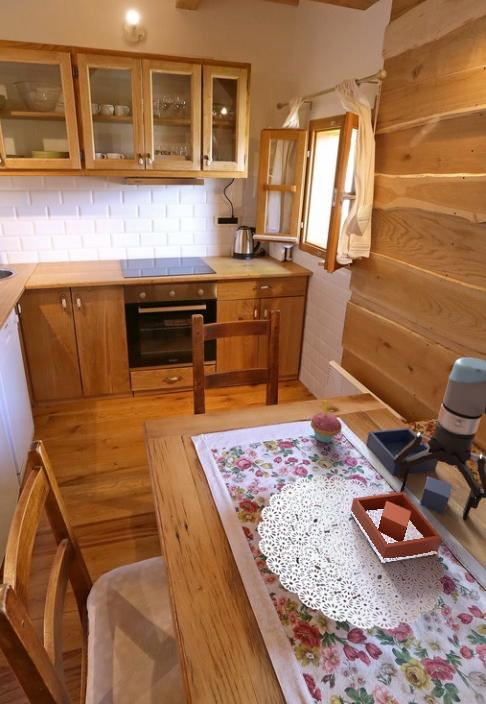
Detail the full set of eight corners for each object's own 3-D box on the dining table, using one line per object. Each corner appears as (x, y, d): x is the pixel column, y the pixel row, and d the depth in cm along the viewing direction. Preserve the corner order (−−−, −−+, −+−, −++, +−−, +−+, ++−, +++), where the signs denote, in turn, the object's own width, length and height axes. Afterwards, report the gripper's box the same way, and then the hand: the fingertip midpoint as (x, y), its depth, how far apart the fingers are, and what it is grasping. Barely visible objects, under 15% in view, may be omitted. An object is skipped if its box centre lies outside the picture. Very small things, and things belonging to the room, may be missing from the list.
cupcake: (303, 430, 120) (308, 395, 115) (328, 426, 122) (334, 392, 118) (318, 449, 112) (324, 412, 108) (345, 444, 114) (352, 408, 110)
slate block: (445, 501, 96) (451, 484, 94) (443, 515, 92) (449, 498, 90) (422, 492, 99) (427, 475, 97) (419, 505, 95) (424, 488, 93)
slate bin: (435, 471, 106) (439, 457, 104) (392, 476, 103) (395, 461, 102) (405, 440, 118) (408, 427, 116) (365, 444, 115) (368, 431, 113)
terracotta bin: (437, 554, 82) (442, 538, 81) (381, 564, 80) (386, 547, 78) (399, 506, 94) (403, 491, 92) (349, 513, 91) (353, 498, 90)
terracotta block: (406, 529, 87) (411, 511, 86) (401, 545, 84) (407, 527, 82) (382, 518, 90) (386, 500, 88) (377, 533, 86) (381, 515, 84)
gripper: (392, 414, 91) (374, 488, 99) (526, 458, 79) (493, 539, 86) (399, 399, 97) (381, 471, 105) (524, 439, 85) (494, 516, 92)
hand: (432, 502), depth 96 cm, fingers open, 13 cm apart
